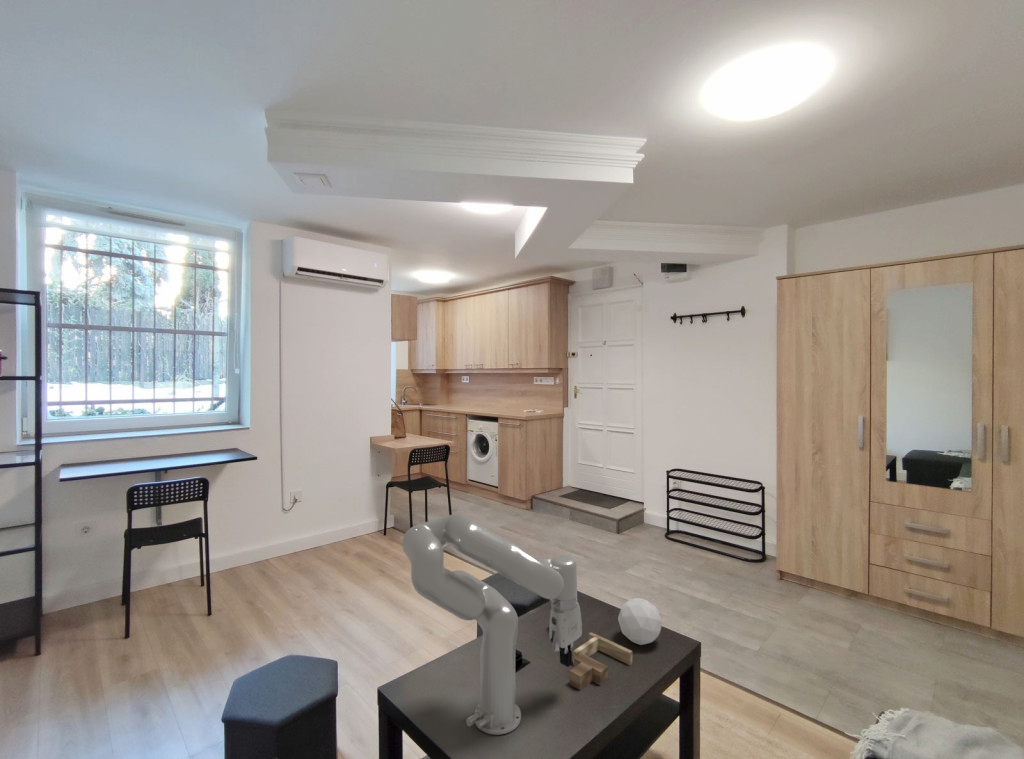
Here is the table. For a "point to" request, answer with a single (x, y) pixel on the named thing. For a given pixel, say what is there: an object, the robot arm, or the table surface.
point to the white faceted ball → (640, 621)
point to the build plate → (520, 661)
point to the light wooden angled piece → (604, 649)
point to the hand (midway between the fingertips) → (566, 663)
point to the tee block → (587, 672)
